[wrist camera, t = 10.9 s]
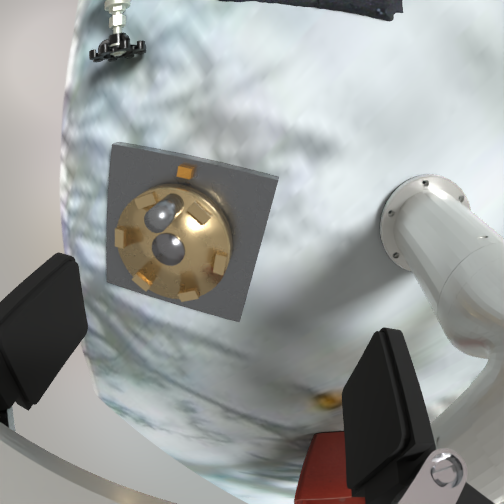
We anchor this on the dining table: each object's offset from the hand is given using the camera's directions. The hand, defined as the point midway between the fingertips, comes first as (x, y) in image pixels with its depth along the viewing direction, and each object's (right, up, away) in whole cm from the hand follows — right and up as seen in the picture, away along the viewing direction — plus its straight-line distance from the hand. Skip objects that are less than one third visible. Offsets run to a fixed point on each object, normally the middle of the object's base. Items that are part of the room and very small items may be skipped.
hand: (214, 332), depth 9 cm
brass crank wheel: (-8, +4, +29) cm, 30 cm away
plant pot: (+21, -39, +49) cm, 66 cm away
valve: (-13, +31, +19) cm, 38 cm away
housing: (-8, +5, +31) cm, 32 cm away
